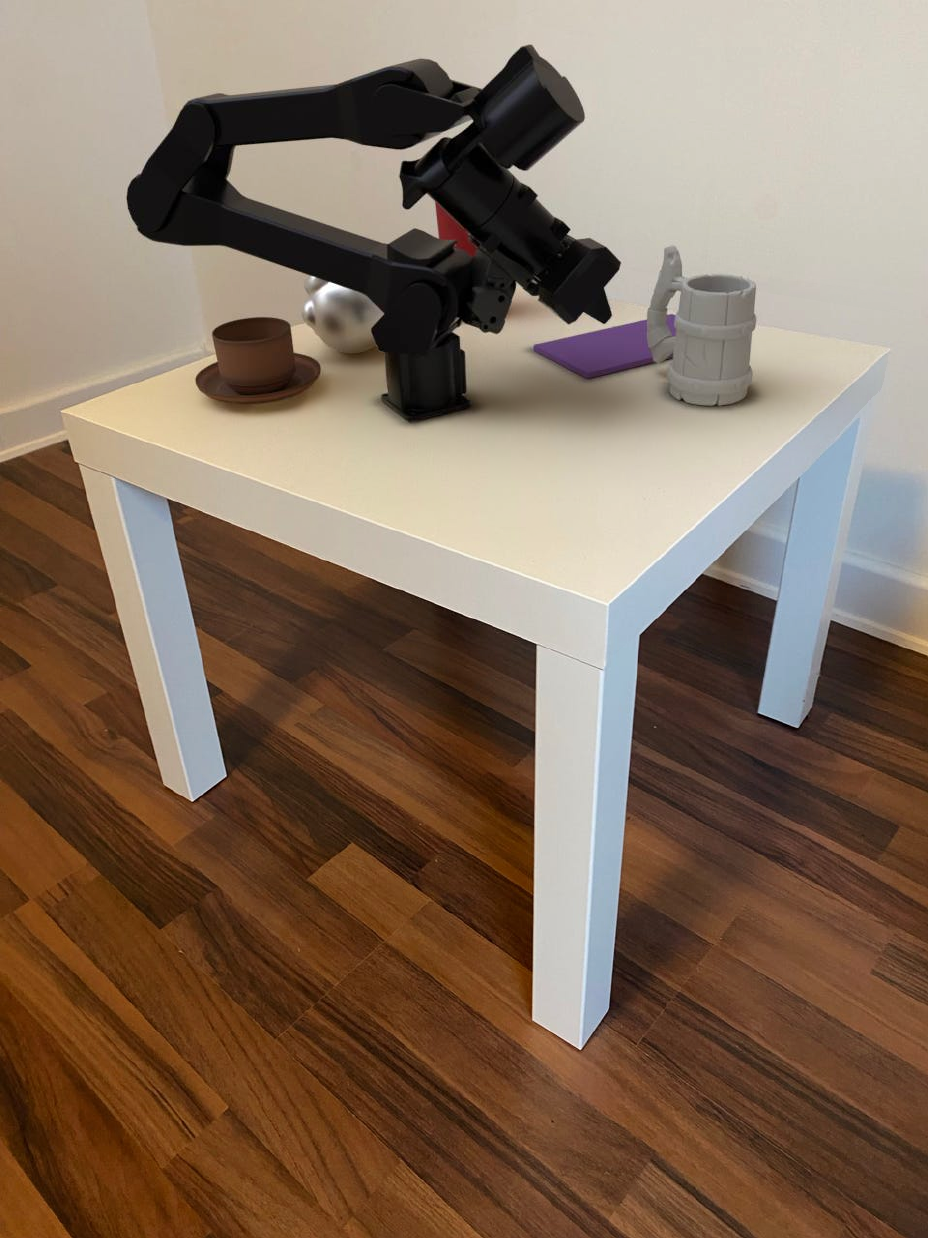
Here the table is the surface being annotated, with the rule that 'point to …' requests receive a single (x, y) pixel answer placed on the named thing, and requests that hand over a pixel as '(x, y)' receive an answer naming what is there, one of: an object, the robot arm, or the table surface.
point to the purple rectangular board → (604, 349)
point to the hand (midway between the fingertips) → (607, 318)
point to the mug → (703, 333)
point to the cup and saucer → (256, 363)
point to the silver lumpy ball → (340, 315)
